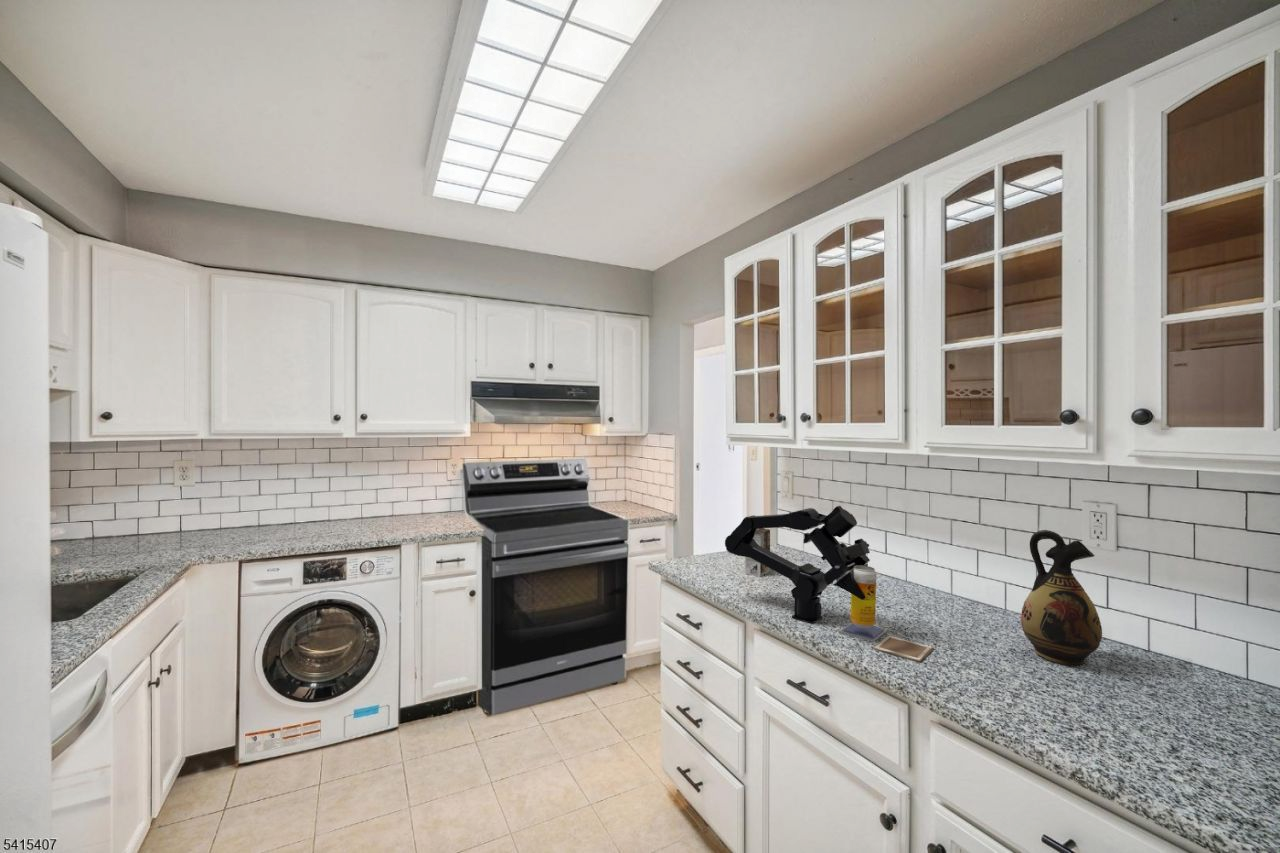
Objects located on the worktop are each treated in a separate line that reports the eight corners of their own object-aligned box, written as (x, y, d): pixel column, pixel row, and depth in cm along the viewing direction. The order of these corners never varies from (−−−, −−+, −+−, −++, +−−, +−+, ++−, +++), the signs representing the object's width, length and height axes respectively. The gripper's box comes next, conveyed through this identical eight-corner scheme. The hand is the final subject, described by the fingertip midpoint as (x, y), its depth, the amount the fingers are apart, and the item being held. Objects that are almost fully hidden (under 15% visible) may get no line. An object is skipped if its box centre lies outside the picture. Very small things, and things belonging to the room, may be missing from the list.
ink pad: (839, 633, 145) (840, 629, 145) (853, 624, 151) (853, 620, 151) (874, 642, 138) (874, 638, 138) (887, 633, 145) (887, 629, 145)
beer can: (863, 629, 141) (864, 572, 141) (845, 621, 146) (846, 566, 146) (880, 626, 143) (881, 569, 143) (862, 618, 149) (863, 564, 149)
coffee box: (754, 569, 208) (755, 526, 208) (770, 571, 205) (771, 529, 205) (744, 574, 201) (744, 530, 201) (760, 577, 197) (761, 532, 197)
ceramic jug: (1104, 657, 131) (1106, 533, 131) (1097, 678, 120) (1099, 542, 120) (1019, 637, 143) (1021, 523, 143) (1006, 654, 132) (1008, 531, 132)
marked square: (872, 649, 134) (872, 647, 134) (887, 636, 142) (887, 634, 142) (920, 662, 127) (920, 660, 127) (933, 648, 135) (934, 646, 135)
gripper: (836, 534, 140) (878, 587, 133) (863, 525, 154) (903, 572, 147) (806, 559, 146) (846, 610, 139) (835, 548, 160) (873, 594, 152)
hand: (868, 596), depth 144 cm, fingers closed on beer can, 6 cm apart
